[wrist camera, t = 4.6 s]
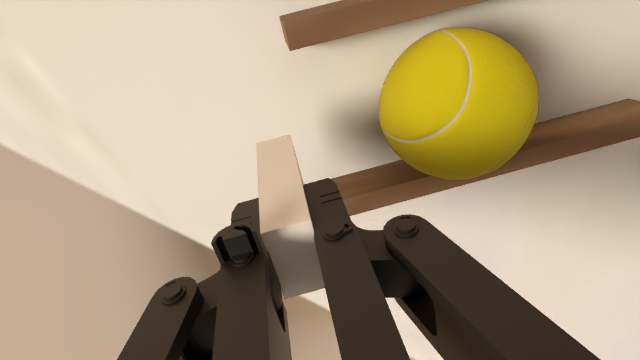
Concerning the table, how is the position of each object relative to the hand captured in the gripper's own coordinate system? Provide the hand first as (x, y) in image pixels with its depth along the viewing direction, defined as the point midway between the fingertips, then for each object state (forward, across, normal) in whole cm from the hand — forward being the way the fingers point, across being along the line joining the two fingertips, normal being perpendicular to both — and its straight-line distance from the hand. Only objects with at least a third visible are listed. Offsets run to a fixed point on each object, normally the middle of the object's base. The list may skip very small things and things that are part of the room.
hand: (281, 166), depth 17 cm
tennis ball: (+5, -9, 0) cm, 10 cm away
